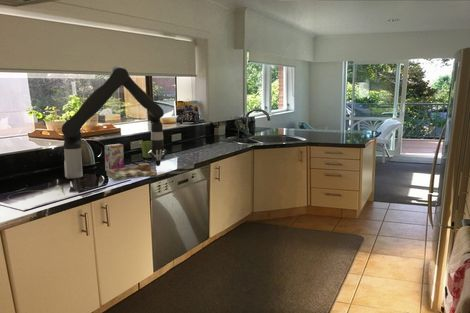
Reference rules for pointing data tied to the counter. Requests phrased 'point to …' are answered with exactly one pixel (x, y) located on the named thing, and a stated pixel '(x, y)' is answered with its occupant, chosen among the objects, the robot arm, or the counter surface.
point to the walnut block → (144, 166)
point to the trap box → (128, 173)
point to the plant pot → (146, 148)
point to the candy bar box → (114, 156)
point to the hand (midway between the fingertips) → (158, 165)
